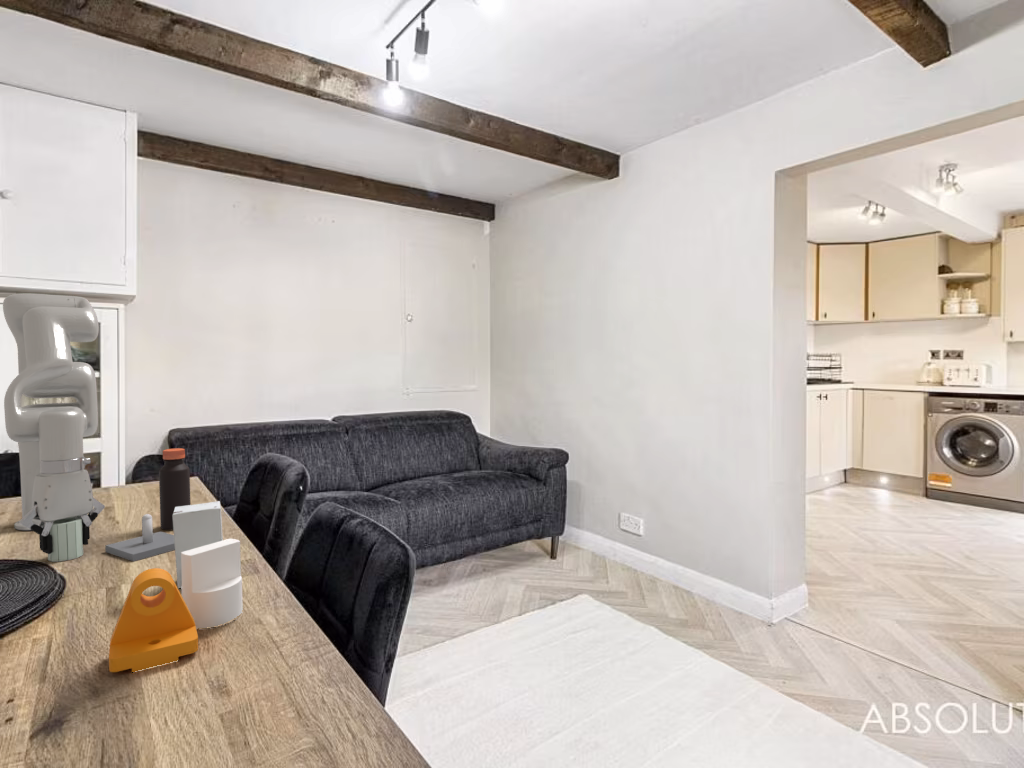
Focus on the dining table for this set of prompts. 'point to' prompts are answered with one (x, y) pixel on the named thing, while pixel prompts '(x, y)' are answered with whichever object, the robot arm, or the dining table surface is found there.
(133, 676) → the dining table surface
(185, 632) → the bracket
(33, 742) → the dining table surface
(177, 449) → the bottle
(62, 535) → the sage tube
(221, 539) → the skincare box
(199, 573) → the cylinder with rectangular tab
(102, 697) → the dining table surface
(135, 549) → the roll stand
